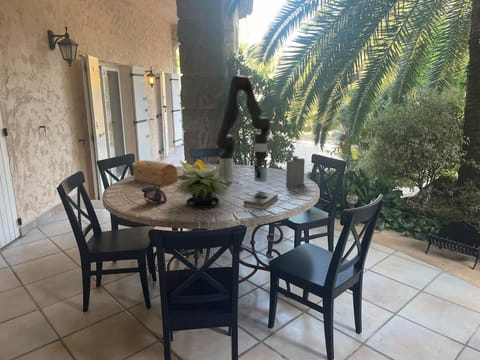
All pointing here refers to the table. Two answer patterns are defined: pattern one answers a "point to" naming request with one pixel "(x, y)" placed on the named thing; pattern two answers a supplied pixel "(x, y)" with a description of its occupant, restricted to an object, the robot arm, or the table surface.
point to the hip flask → (295, 172)
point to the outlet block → (260, 200)
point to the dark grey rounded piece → (153, 193)
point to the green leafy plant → (192, 173)
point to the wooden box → (155, 172)
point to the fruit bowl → (198, 167)
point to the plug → (263, 175)
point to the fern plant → (202, 189)
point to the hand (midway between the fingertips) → (260, 176)
